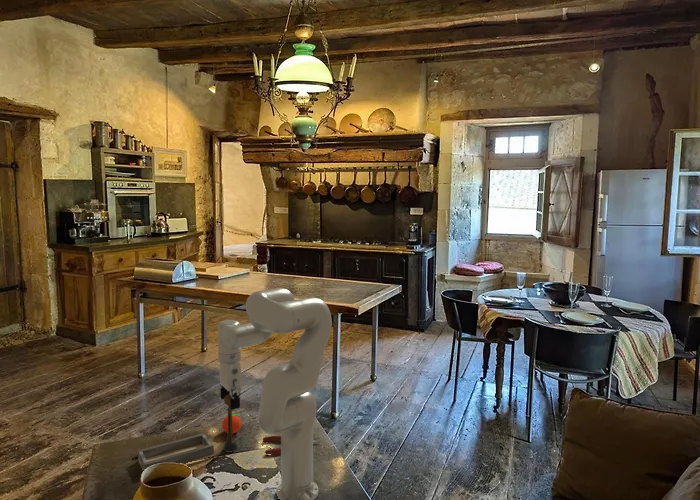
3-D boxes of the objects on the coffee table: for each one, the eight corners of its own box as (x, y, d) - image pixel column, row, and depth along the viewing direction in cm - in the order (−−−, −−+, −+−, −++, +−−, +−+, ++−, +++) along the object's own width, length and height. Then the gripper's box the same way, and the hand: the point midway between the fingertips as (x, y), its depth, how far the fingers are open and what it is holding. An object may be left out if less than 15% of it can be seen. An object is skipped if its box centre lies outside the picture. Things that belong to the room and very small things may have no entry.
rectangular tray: (214, 457, 168) (214, 446, 168) (146, 477, 156) (145, 465, 156) (203, 443, 178) (203, 432, 178) (138, 460, 166) (137, 449, 166)
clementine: (239, 426, 192) (239, 408, 191) (247, 432, 186) (246, 414, 185) (219, 431, 187) (219, 413, 186) (226, 438, 181) (226, 420, 181)
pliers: (322, 450, 174) (322, 443, 174) (265, 458, 169) (265, 451, 168) (316, 435, 185) (316, 429, 185) (262, 442, 180) (262, 436, 179)
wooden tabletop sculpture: (242, 446, 176) (241, 392, 174) (237, 453, 171) (236, 397, 169) (226, 445, 176) (224, 391, 174) (221, 452, 172) (220, 396, 170)
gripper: (249, 361, 165) (249, 410, 167) (231, 347, 180) (231, 392, 182) (227, 365, 161) (228, 415, 163) (210, 350, 175) (211, 396, 177)
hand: (230, 403), depth 172 cm, fingers open, 9 cm apart
